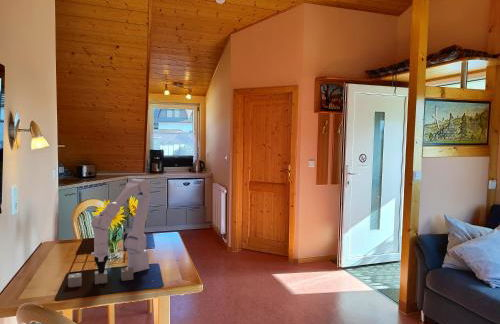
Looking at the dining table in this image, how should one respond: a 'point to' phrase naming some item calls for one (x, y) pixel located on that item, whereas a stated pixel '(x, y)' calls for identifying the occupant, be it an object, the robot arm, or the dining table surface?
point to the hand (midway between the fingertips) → (101, 272)
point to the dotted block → (74, 280)
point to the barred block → (127, 273)
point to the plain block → (100, 277)
